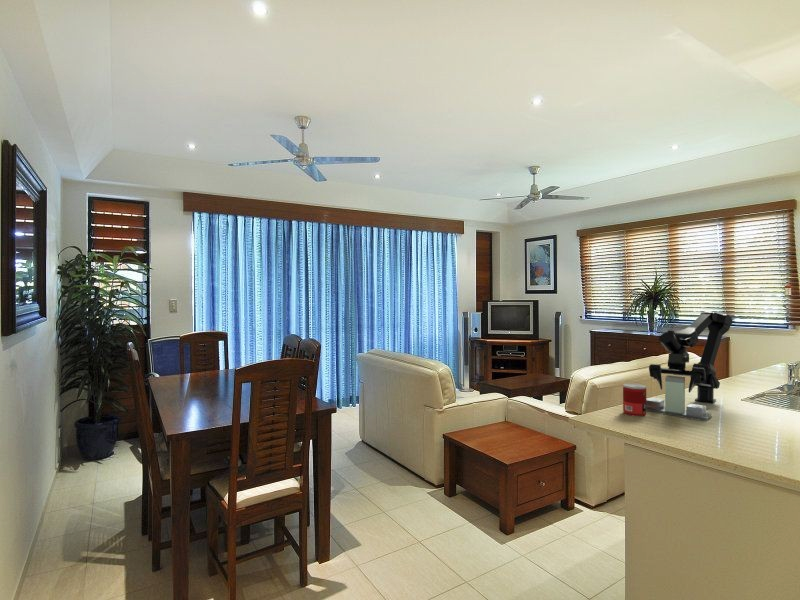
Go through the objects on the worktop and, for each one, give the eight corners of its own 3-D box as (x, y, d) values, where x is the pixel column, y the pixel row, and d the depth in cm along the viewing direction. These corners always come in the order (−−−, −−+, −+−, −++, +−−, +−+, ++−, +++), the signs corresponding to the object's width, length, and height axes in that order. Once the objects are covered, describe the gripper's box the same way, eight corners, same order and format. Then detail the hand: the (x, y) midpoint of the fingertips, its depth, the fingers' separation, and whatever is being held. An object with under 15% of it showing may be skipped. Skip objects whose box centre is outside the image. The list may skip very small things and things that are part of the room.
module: (666, 408, 176) (666, 375, 176) (684, 410, 172) (684, 377, 172) (665, 410, 172) (665, 377, 172) (683, 413, 168) (683, 379, 168)
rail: (647, 406, 183) (647, 396, 183) (711, 416, 167) (711, 406, 167) (640, 409, 177) (640, 399, 177) (706, 421, 161) (706, 410, 161)
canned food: (648, 417, 167) (648, 388, 167) (624, 415, 170) (624, 386, 170) (644, 411, 175) (644, 383, 174) (621, 410, 177) (621, 382, 177)
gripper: (649, 344, 181) (645, 375, 172) (705, 347, 170) (703, 381, 161) (652, 360, 187) (648, 391, 179) (705, 364, 176) (704, 398, 168)
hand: (675, 390), depth 171 cm, fingers open, 9 cm apart
